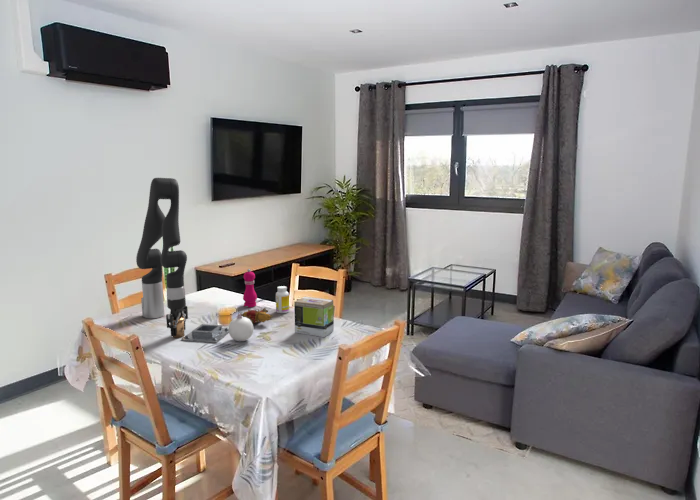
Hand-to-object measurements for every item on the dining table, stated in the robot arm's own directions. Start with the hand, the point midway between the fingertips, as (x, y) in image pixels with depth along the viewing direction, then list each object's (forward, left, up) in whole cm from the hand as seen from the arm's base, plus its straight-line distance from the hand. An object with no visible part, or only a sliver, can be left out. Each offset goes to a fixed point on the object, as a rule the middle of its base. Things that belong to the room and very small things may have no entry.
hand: (178, 333), depth 216 cm
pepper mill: (+14, +49, -2) cm, 51 cm away
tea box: (+57, +16, -2) cm, 59 cm away
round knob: (0, 0, -1) cm, 1 cm away
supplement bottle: (+34, +42, -2) cm, 54 cm away
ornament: (+29, 0, -2) cm, 29 cm away
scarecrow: (+27, +23, -2) cm, 35 cm away
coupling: (+12, +3, -1) cm, 12 cm away
